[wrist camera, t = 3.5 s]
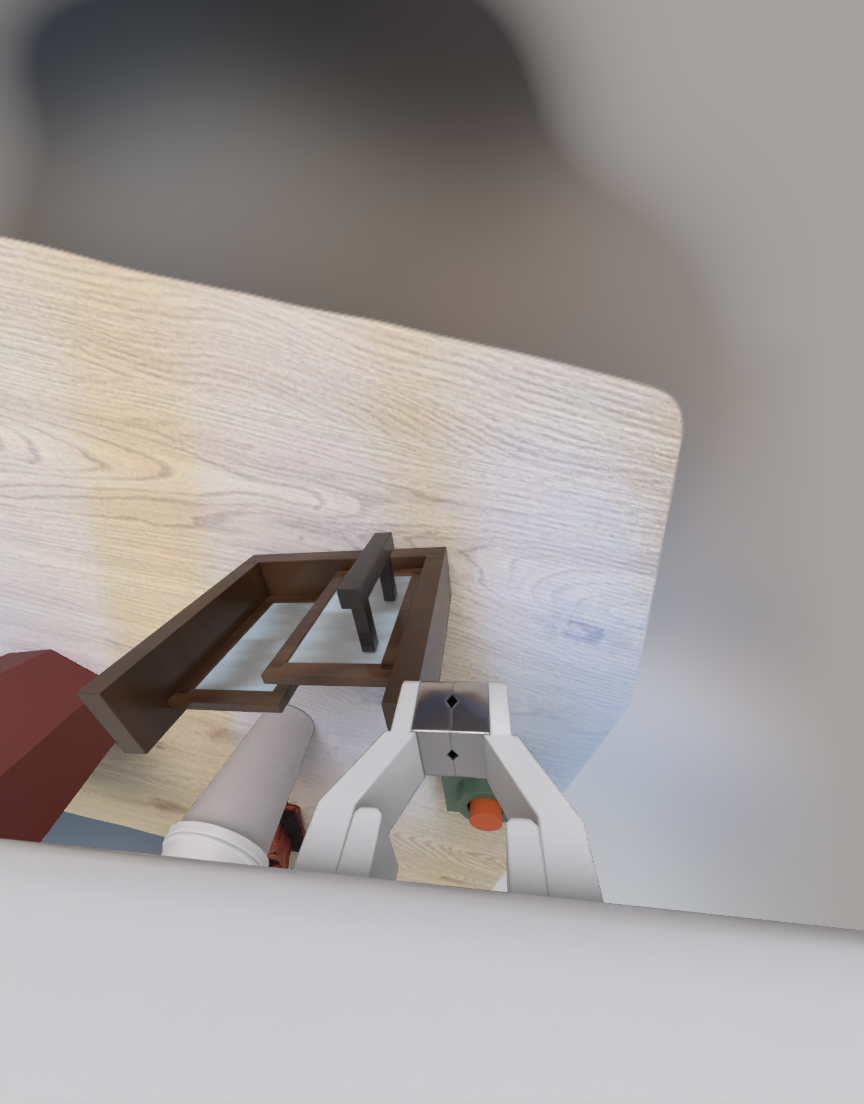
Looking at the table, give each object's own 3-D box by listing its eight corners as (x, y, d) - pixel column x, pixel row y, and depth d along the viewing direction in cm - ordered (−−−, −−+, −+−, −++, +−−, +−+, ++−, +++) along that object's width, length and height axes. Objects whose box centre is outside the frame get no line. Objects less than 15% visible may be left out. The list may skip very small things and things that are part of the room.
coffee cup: (297, 754, 45) (221, 909, 32) (239, 714, 43) (131, 864, 29) (341, 729, 41) (276, 893, 28) (280, 684, 39) (177, 841, 26)
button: (501, 797, 37) (502, 815, 36) (501, 814, 39) (502, 832, 38) (468, 794, 38) (468, 812, 36) (470, 812, 40) (470, 829, 38)
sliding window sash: (418, 513, 25) (377, 603, 15) (426, 575, 27) (396, 687, 17) (324, 519, 26) (227, 605, 16) (339, 577, 29) (264, 684, 19)
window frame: (446, 546, 28) (414, 705, 14) (451, 596, 30) (427, 774, 17) (253, 554, 31) (75, 693, 17) (270, 599, 33) (124, 753, 20)
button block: (527, 749, 39) (531, 786, 35) (525, 798, 43) (530, 835, 40) (441, 745, 40) (437, 779, 37) (448, 792, 45) (446, 827, 41)
